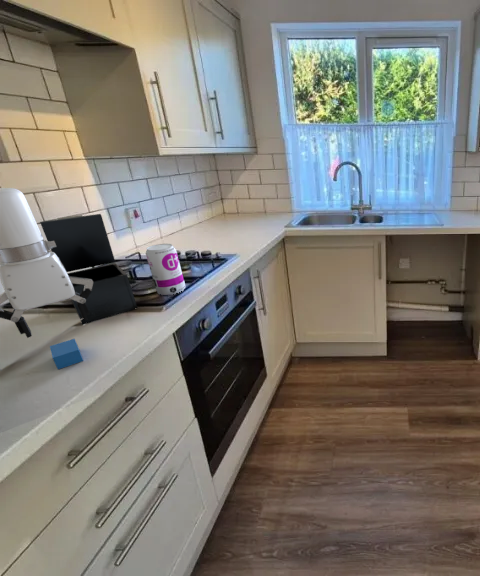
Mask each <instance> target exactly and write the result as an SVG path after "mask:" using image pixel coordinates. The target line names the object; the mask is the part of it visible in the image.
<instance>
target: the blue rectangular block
mask: <svg viewBox="0 0 480 576" xmlns="http://www.w3.org/2000/svg"><path fill="white" fill-rule="evenodd" d="M49 350H50V353H51V358H52V360H53V362H54V364H55V366H56V368H57V370H60V369H63V368H67V367H69V366H72V365H73V366H74V365H75V364H79V363H81V362H84V358H83V356H82V354H81V351H80V348H79V346H78V344H77V341H76V339H75V338H72V339H67V340H65V341H61V342H58V343H55V344H52V345H49Z"/></svg>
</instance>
